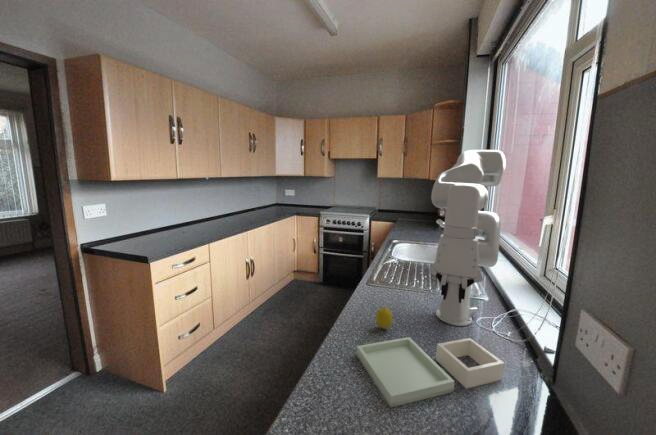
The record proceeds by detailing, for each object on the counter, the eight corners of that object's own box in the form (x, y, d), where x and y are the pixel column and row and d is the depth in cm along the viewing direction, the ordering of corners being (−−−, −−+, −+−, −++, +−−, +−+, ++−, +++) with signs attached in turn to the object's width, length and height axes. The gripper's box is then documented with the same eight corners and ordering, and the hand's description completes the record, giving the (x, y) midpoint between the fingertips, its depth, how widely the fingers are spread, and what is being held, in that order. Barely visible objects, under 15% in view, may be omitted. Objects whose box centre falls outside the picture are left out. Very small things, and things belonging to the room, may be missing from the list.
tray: (408, 345, 91) (409, 337, 91) (453, 391, 72) (454, 381, 72) (356, 355, 86) (357, 345, 85) (390, 407, 67) (391, 396, 66)
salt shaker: (434, 315, 79) (438, 270, 77) (449, 312, 81) (453, 268, 79) (451, 326, 74) (456, 278, 72) (466, 321, 76) (472, 275, 74)
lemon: (391, 334, 97) (393, 312, 96) (375, 331, 98) (376, 310, 97) (391, 325, 103) (392, 304, 101) (375, 323, 104) (377, 303, 103)
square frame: (468, 352, 89) (469, 337, 88) (502, 379, 77) (504, 362, 76) (435, 359, 85) (437, 343, 84) (466, 388, 74) (468, 371, 73)
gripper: (494, 233, 74) (485, 300, 77) (427, 226, 81) (422, 288, 84) (497, 239, 67) (487, 312, 70) (424, 231, 74) (418, 298, 77)
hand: (452, 298), depth 77 cm, fingers closed on salt shaker, 3 cm apart
